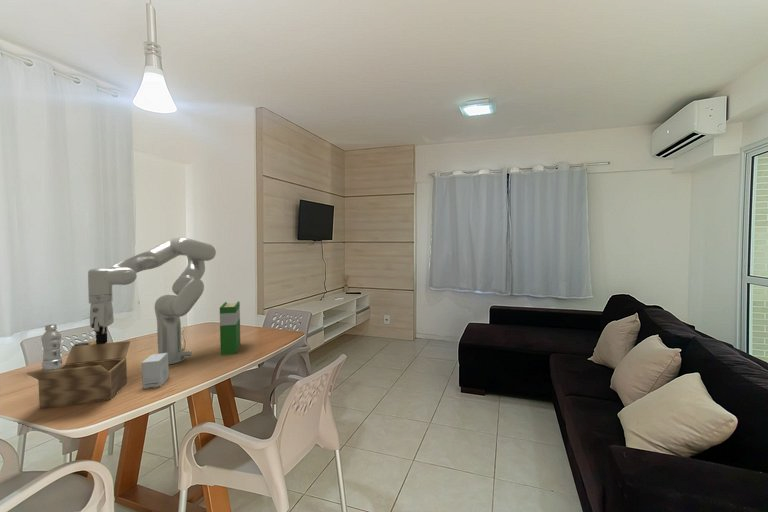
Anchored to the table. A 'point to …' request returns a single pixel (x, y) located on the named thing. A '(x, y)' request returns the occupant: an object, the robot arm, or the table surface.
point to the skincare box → (155, 370)
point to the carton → (83, 385)
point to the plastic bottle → (51, 348)
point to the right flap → (97, 352)
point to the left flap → (68, 372)
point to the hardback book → (230, 328)
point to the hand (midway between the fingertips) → (101, 343)
